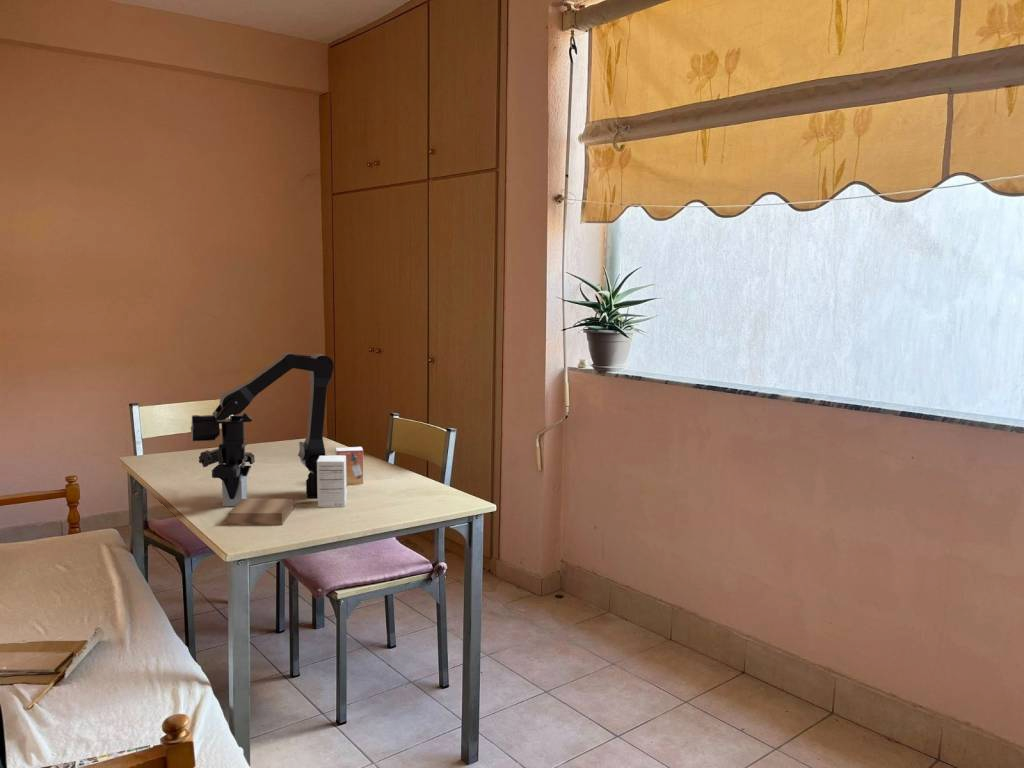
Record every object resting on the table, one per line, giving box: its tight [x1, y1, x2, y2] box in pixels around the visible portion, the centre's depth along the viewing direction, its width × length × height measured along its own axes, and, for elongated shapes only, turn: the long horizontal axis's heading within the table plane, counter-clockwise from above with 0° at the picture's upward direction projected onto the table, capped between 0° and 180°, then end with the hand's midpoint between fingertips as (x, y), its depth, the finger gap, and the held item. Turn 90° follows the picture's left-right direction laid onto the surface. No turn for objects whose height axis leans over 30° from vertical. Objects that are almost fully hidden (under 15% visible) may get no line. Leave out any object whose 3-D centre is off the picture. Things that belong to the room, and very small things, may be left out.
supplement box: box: [317, 454, 348, 508], centre depth 212 cm, size 7×7×13 cm
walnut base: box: [227, 498, 294, 526], centre depth 199 cm, size 13×13×3 cm
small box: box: [334, 446, 364, 486], centre depth 235 cm, size 8×6×10 cm
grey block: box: [221, 475, 248, 507], centre depth 210 cm, size 5×5×7 cm
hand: (234, 496), depth 211 cm, fingers closed on grey block, 5 cm apart
